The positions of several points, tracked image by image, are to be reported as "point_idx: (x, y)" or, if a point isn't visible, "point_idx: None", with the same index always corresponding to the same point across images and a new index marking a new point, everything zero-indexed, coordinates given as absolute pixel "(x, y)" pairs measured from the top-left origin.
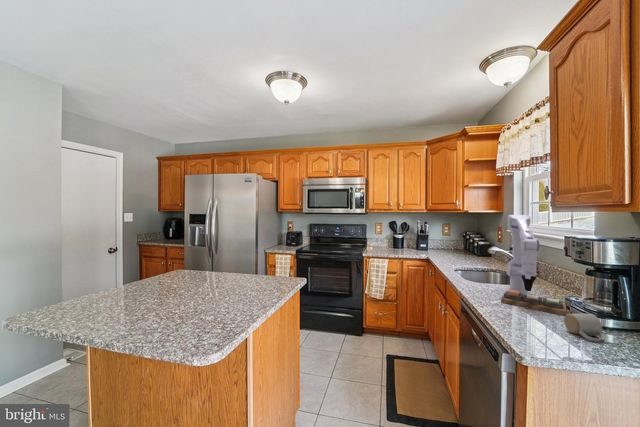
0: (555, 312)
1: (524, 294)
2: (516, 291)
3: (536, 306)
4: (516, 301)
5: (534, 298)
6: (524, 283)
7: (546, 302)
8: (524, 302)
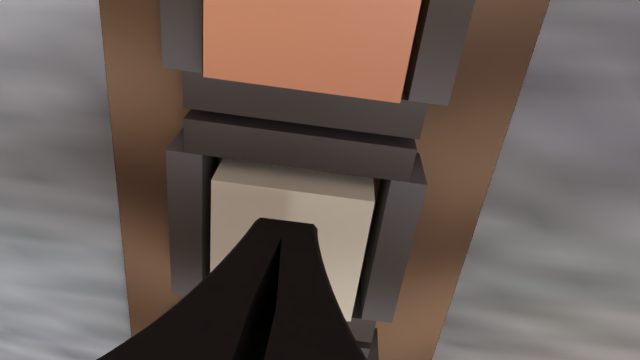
0: None
1: (406, 157)
2: (323, 40)
3: (127, 222)
4: (105, 4)
5: (212, 260)
6: (168, 314)
7: None
8: (149, 112)
